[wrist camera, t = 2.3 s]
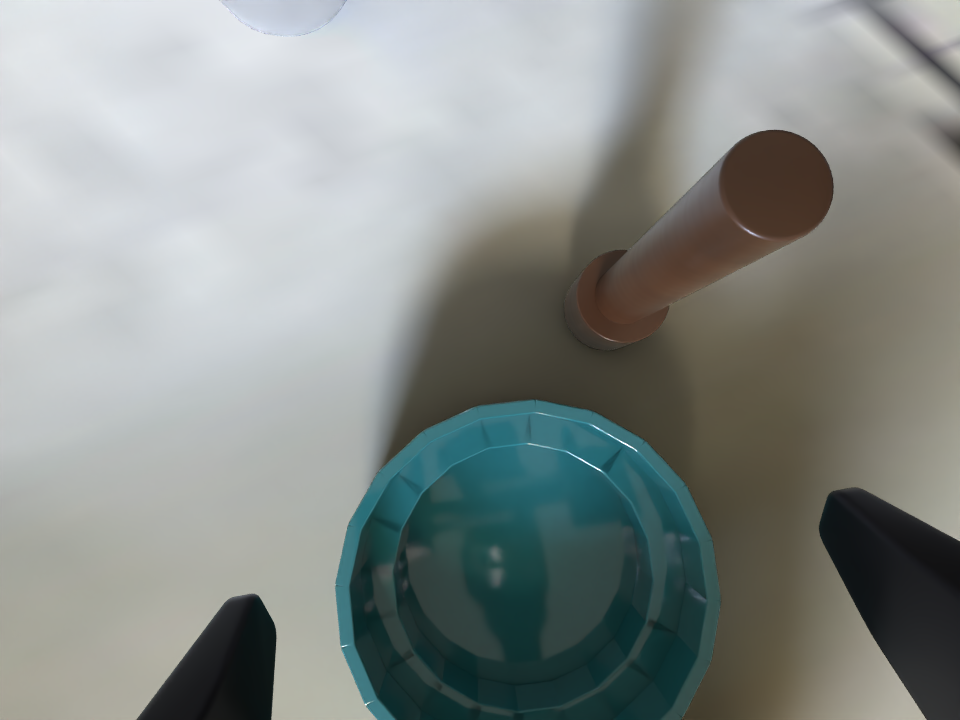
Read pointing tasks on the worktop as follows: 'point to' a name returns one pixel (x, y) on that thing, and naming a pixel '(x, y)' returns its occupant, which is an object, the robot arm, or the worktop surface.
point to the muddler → (703, 238)
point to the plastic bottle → (284, 14)
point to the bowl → (527, 574)
